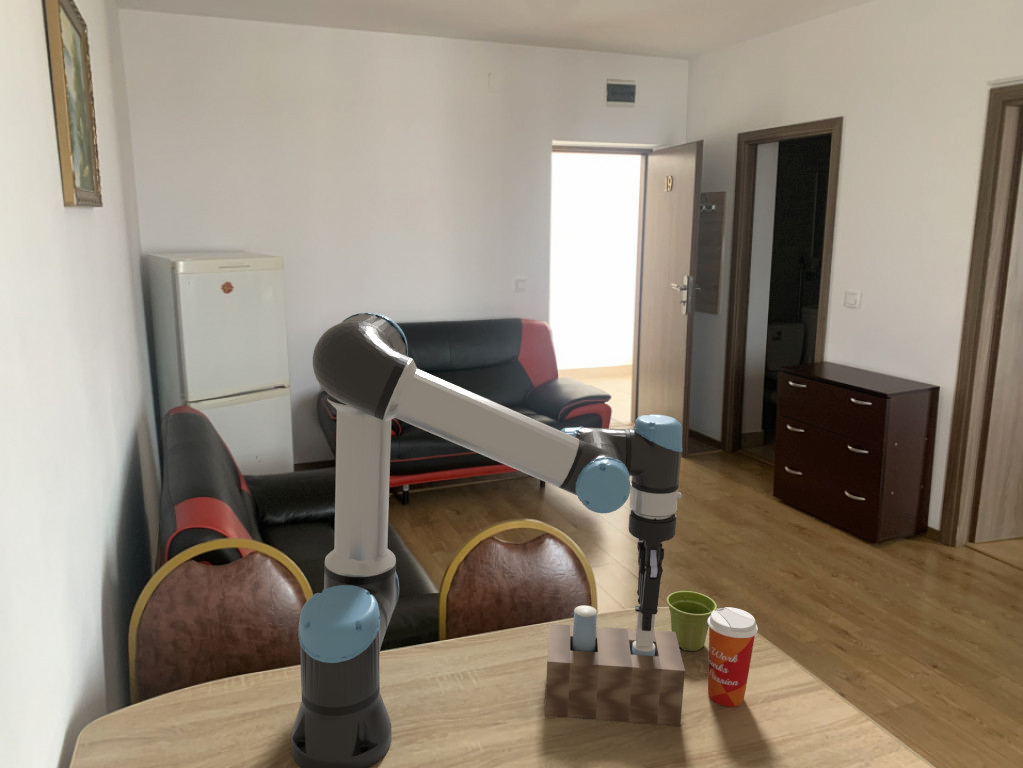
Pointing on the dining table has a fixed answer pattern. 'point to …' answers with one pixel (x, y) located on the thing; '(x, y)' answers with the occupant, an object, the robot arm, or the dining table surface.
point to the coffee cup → (729, 654)
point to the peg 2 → (643, 650)
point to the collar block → (614, 678)
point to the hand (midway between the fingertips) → (644, 643)
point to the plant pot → (690, 618)
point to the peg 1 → (584, 629)
